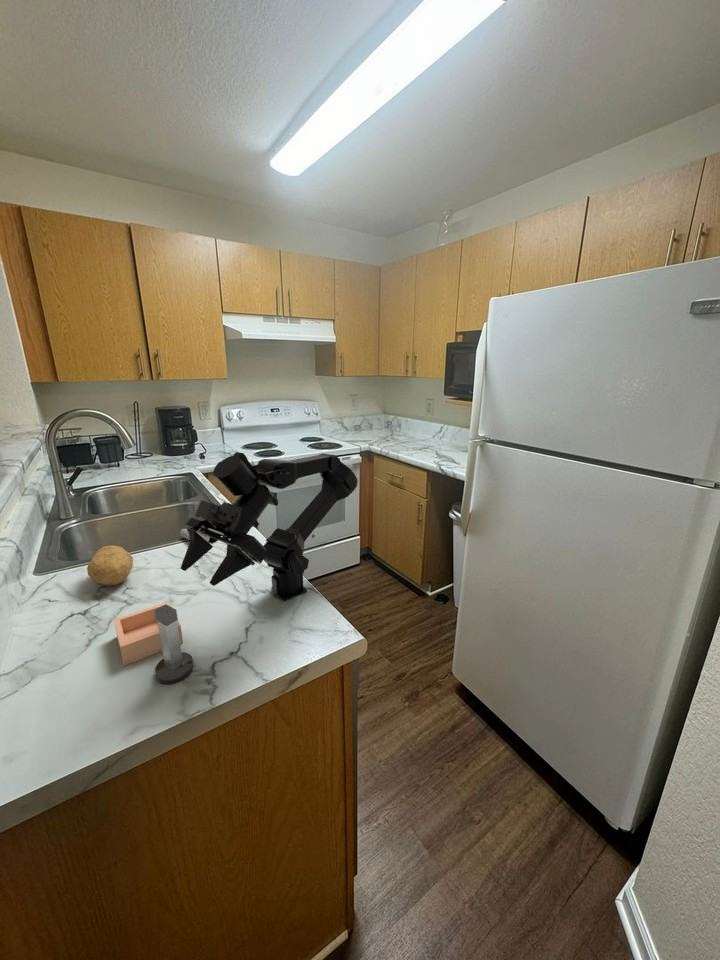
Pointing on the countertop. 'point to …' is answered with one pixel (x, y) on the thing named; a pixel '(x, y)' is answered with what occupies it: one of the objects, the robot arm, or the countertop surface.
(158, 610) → the grey stamp
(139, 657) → the peach square open box
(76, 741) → the countertop surface
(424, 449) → the countertop surface
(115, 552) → the potato
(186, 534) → the kitchen whisk
